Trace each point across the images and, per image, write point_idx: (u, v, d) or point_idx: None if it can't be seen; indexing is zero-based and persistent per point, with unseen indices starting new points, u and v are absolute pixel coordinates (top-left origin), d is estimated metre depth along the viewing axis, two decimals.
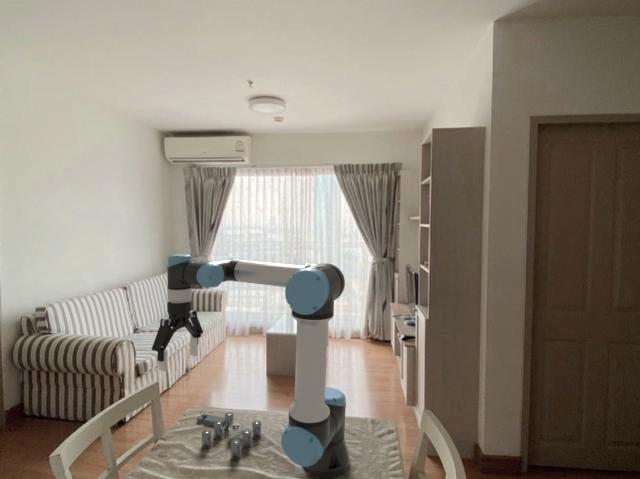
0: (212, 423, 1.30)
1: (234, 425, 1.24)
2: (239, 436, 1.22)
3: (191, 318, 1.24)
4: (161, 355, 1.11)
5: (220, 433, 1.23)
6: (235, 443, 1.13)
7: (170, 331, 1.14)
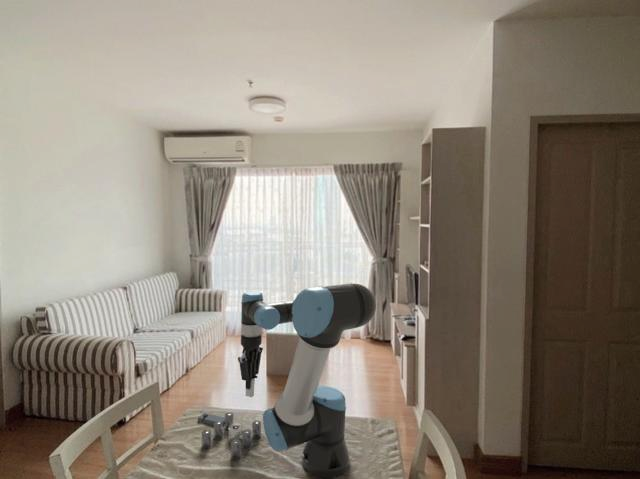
0: (212, 422, 1.30)
1: (234, 425, 1.24)
2: (239, 436, 1.22)
3: None
4: (249, 383, 1.29)
5: (220, 433, 1.23)
6: (235, 443, 1.13)
7: (249, 364, 1.28)
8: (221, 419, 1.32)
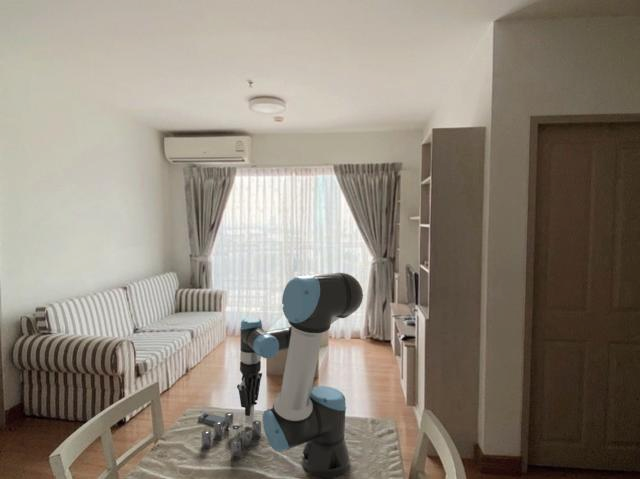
0: (213, 422, 1.31)
1: (234, 425, 1.24)
2: (239, 436, 1.22)
3: None
4: (248, 410, 1.29)
5: (220, 433, 1.23)
6: (235, 443, 1.13)
7: (248, 390, 1.28)
8: (221, 419, 1.32)
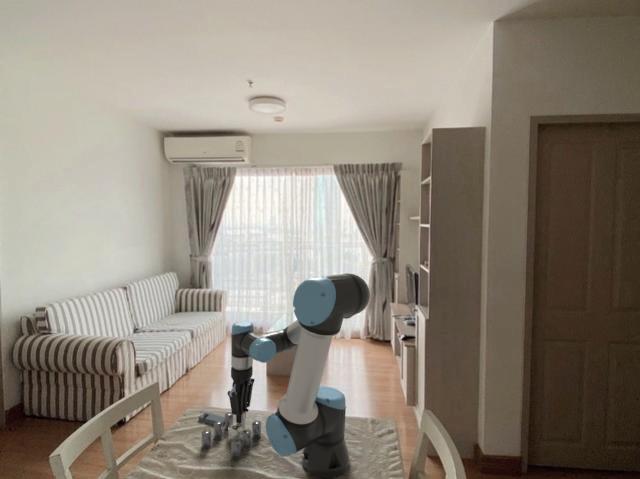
0: (213, 422, 1.31)
1: (234, 425, 1.24)
2: (239, 436, 1.21)
3: None
4: (239, 418, 1.24)
5: (220, 433, 1.23)
6: (235, 443, 1.13)
7: (239, 397, 1.23)
8: (221, 419, 1.32)
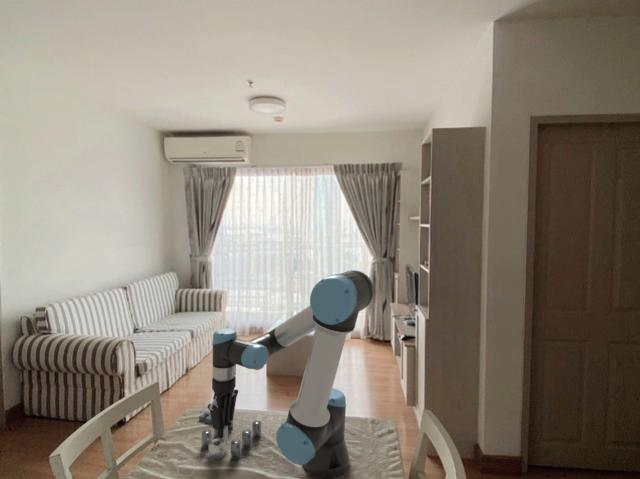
0: None
1: (215, 440, 1.15)
2: (221, 453, 1.13)
3: None
4: (221, 432, 1.15)
5: None
6: (235, 443, 1.13)
7: (221, 410, 1.14)
8: None
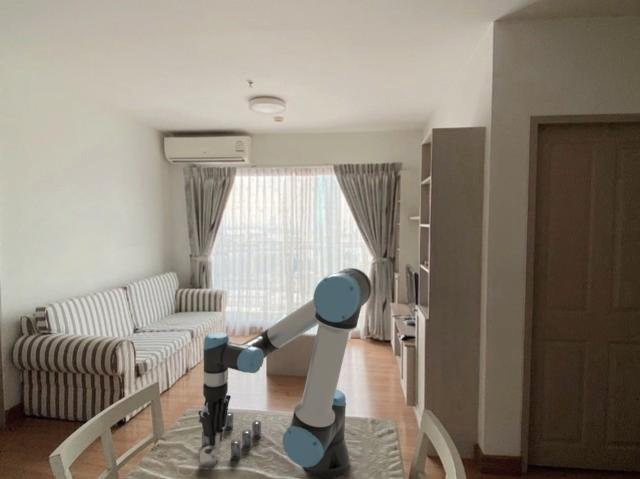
0: None
1: (206, 448, 1.11)
2: (212, 461, 1.09)
3: None
4: (213, 440, 1.11)
5: (220, 433, 1.23)
6: (235, 443, 1.13)
7: (212, 417, 1.10)
8: None
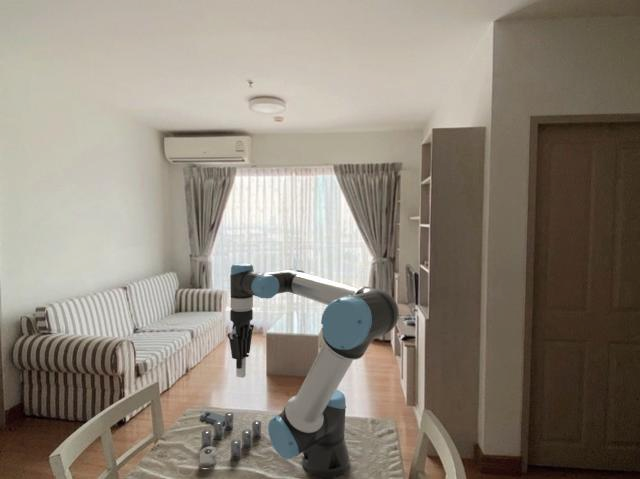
0: (214, 421, 1.31)
1: (206, 448, 1.11)
2: (212, 461, 1.09)
3: None
4: (240, 363, 1.19)
5: (220, 433, 1.23)
6: (235, 443, 1.13)
7: (239, 341, 1.19)
8: (222, 418, 1.33)
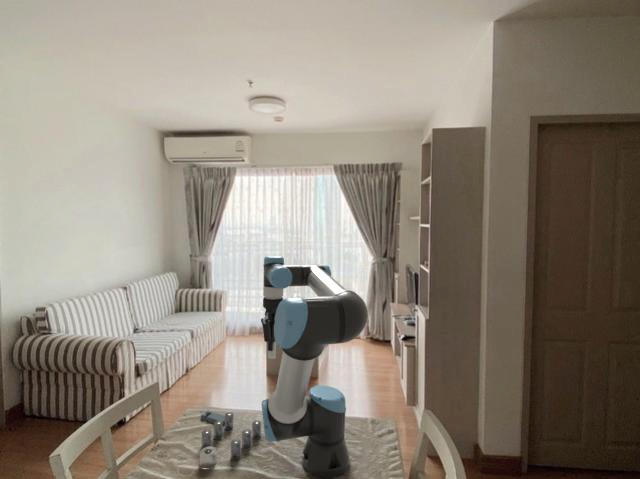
0: (214, 421, 1.32)
1: (206, 448, 1.11)
2: (212, 461, 1.09)
3: None
4: (271, 345, 1.32)
5: (220, 433, 1.23)
6: (235, 443, 1.13)
7: (271, 326, 1.31)
8: (223, 418, 1.33)
